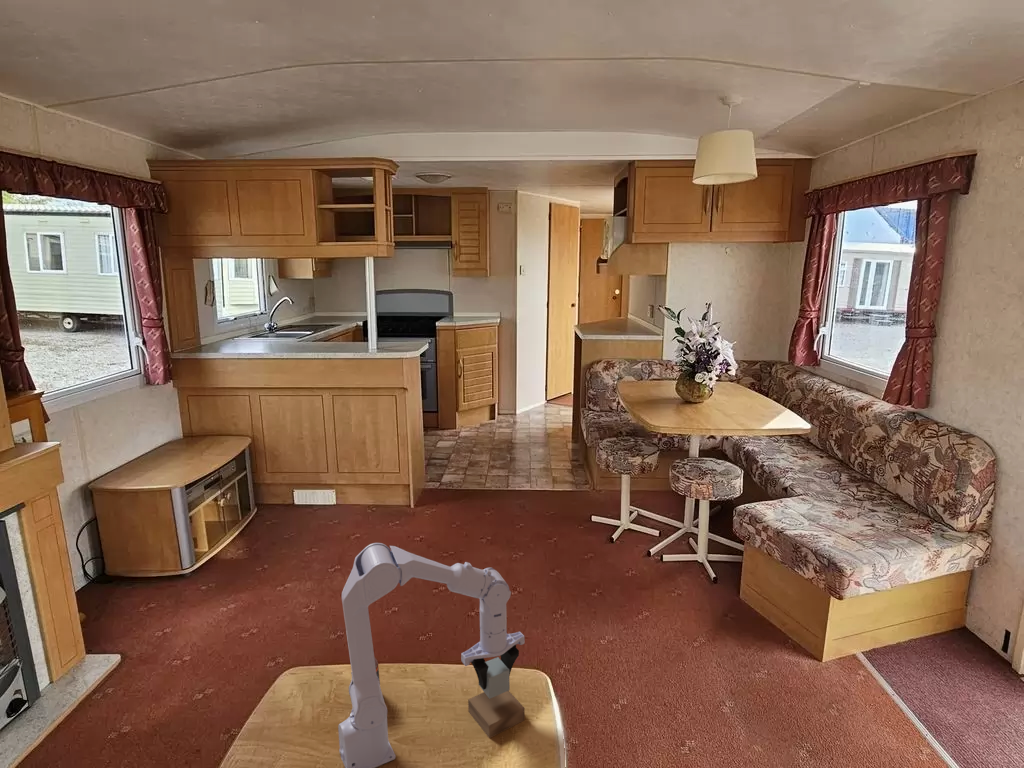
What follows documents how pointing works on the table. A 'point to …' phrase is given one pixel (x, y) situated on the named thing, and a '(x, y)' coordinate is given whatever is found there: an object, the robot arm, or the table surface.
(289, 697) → the table surface
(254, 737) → the table surface
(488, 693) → the grey cube
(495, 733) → the walnut block
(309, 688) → the table surface
